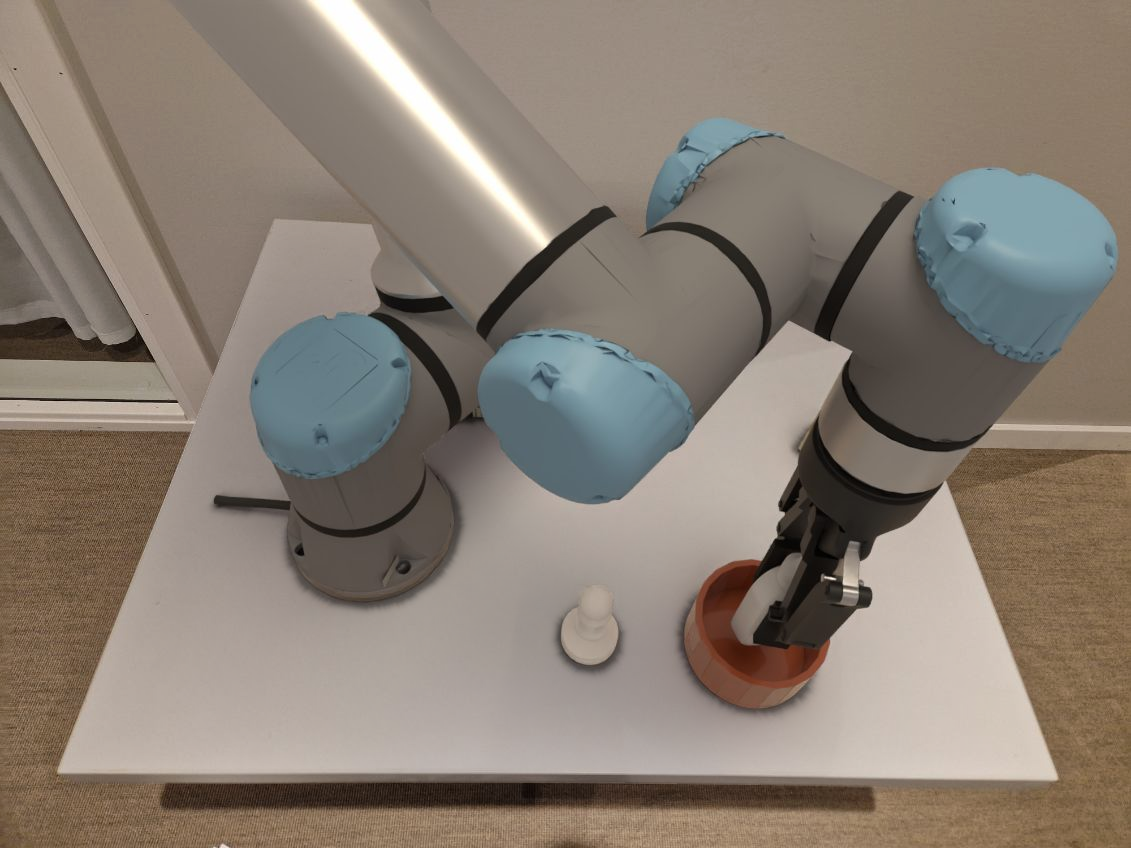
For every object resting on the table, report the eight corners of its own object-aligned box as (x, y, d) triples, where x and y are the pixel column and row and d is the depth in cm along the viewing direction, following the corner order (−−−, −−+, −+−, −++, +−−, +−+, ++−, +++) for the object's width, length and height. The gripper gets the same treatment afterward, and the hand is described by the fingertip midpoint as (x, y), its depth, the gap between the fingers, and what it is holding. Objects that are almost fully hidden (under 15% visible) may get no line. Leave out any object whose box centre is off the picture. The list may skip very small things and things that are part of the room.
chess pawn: (558, 612, 66) (563, 567, 59) (613, 609, 66) (625, 565, 59) (562, 667, 63) (568, 627, 56) (619, 664, 63) (633, 624, 56)
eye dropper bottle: (797, 654, 60) (849, 592, 50) (729, 644, 60) (768, 580, 51) (794, 605, 63) (843, 537, 53) (729, 595, 63) (766, 526, 53)
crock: (679, 695, 62) (692, 674, 58) (687, 577, 69) (699, 549, 65) (811, 719, 61) (833, 700, 57) (806, 597, 68) (826, 571, 64)
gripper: (980, 598, 35) (821, 731, 54) (928, 342, 46) (811, 526, 64) (824, 571, 36) (720, 712, 54) (809, 324, 46) (726, 512, 65)
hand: (769, 611), depth 59 cm, fingers closed on eye dropper bottle, 4 cm apart
